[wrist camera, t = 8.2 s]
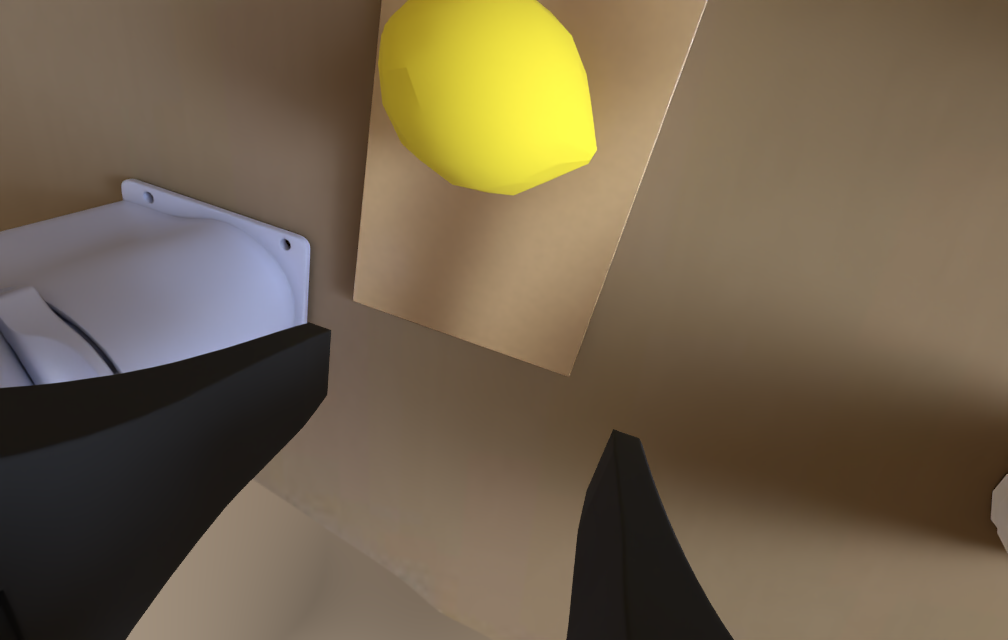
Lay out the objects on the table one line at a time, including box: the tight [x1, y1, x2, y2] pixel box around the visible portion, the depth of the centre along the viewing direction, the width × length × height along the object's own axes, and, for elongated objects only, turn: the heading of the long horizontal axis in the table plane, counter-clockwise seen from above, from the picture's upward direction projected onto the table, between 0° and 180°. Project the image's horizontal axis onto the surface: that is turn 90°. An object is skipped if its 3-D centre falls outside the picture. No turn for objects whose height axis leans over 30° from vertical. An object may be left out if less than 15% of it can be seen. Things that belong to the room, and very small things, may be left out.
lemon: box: [378, 0, 597, 195], centre depth 15 cm, size 7×5×5 cm
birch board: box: [353, 0, 708, 377], centre depth 17 cm, size 10×20×1 cm, turn 167°
